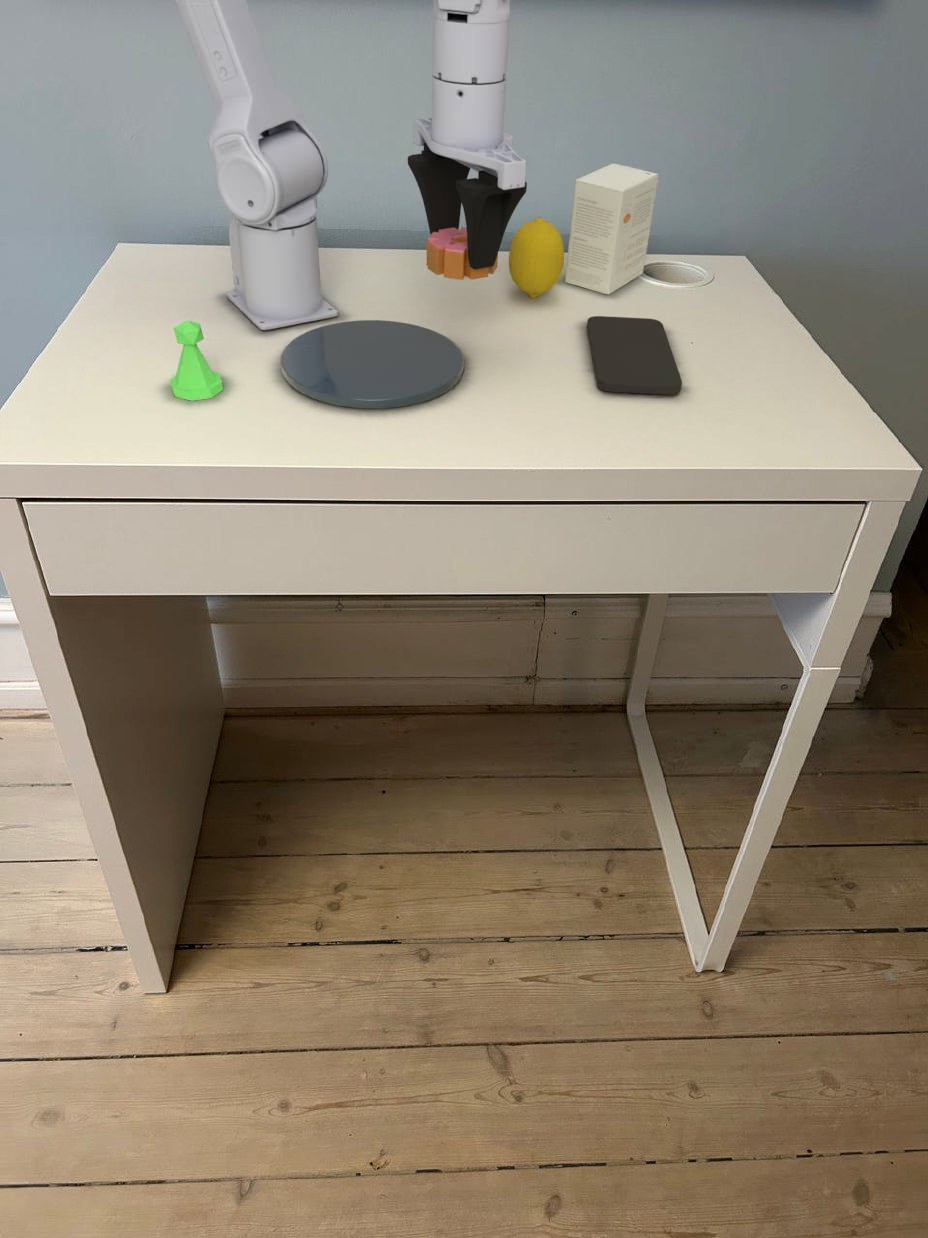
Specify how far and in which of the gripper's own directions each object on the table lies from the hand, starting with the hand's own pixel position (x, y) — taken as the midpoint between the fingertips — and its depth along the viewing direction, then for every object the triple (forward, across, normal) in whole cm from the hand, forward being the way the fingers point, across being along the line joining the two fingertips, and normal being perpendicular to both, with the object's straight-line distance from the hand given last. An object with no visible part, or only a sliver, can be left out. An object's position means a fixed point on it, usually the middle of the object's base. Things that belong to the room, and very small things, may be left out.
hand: (462, 254), depth 83 cm
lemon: (+9, +7, -13) cm, 17 cm away
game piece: (+9, +3, +24) cm, 26 cm away
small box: (+9, +8, -23) cm, 26 cm away
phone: (+9, -9, -13) cm, 18 cm away
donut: (+1, 0, 0) cm, 1 cm away
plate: (+9, 0, +9) cm, 12 cm away
